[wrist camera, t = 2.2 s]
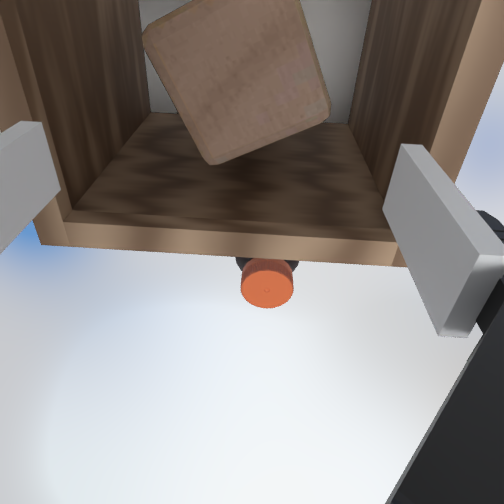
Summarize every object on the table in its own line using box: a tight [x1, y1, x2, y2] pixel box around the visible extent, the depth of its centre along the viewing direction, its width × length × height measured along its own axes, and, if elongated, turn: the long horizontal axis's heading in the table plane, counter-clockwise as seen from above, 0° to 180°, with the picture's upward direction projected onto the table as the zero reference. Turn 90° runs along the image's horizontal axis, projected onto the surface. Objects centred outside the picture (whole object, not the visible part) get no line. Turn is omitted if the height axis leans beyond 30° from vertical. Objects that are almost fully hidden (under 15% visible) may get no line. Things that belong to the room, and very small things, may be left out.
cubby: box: [0, 0, 504, 267], centre depth 30 cm, size 26×20×26 cm
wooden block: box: [142, 0, 331, 165], centre depth 33 cm, size 10×10×20 cm
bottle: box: [236, 257, 299, 308], centre depth 43 cm, size 7×7×20 cm
